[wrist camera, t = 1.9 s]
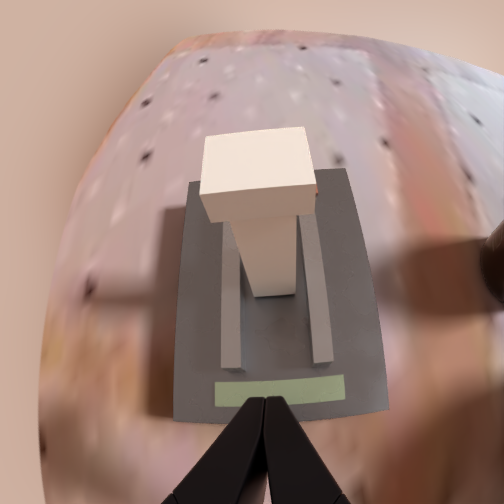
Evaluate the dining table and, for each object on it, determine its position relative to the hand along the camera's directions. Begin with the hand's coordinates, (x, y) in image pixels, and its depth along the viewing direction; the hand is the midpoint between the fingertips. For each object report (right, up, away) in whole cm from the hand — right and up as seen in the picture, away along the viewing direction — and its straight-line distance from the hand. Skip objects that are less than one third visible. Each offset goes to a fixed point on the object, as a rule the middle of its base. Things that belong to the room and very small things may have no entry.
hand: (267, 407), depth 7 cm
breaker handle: (+1, +2, +12) cm, 12 cm away
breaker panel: (+1, +1, +14) cm, 14 cm away
